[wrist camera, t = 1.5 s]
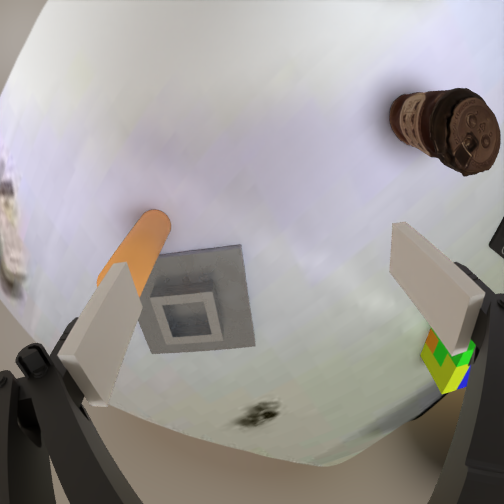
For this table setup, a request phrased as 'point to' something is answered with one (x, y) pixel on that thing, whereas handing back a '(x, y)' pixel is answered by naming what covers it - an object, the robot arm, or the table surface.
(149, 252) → the pin
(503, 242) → the cell phone
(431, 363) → the puzzle toy
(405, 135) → the coffee cup
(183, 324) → the grey square socket base
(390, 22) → the table surface
